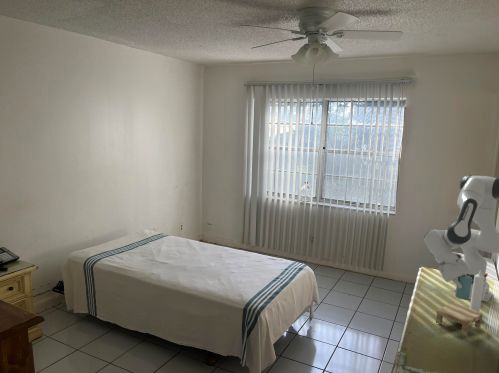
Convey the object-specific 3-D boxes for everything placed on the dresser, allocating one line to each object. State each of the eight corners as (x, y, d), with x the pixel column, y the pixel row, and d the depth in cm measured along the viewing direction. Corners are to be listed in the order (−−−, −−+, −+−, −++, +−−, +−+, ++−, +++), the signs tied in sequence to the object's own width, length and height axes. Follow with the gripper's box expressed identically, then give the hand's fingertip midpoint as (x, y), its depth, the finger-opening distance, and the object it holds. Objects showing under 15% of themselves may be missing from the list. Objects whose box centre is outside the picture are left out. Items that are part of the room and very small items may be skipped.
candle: (483, 320, 192) (491, 273, 189) (468, 318, 194) (475, 271, 190) (478, 314, 199) (485, 268, 195) (463, 312, 201) (470, 267, 197)
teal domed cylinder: (458, 293, 188) (461, 274, 187) (471, 298, 184) (474, 278, 182) (452, 296, 185) (455, 276, 183) (465, 301, 180) (468, 280, 178)
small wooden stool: (451, 315, 197) (453, 302, 195) (480, 327, 186) (482, 313, 184) (435, 323, 187) (437, 309, 186) (465, 336, 176) (467, 322, 175)
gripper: (442, 260, 181) (460, 287, 174) (462, 254, 193) (479, 279, 187) (431, 266, 185) (449, 293, 179) (451, 260, 197) (469, 284, 191)
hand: (465, 286), depth 183 cm, fingers closed on teal domed cylinder, 6 cm apart
